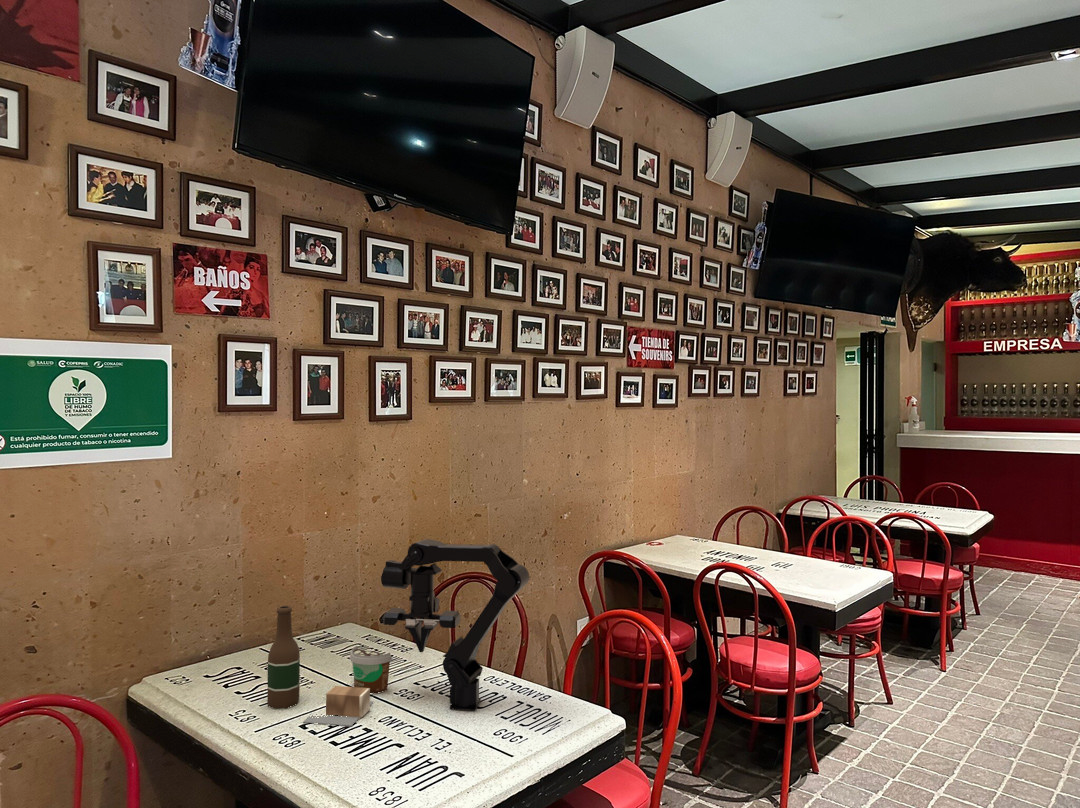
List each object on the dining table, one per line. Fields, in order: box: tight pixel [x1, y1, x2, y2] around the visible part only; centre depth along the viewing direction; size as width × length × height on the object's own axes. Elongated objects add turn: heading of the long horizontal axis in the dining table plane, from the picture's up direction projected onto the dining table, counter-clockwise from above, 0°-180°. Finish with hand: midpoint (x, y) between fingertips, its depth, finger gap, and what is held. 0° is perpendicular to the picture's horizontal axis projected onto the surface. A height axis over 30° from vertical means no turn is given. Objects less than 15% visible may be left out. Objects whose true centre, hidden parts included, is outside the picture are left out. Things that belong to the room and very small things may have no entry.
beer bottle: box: [266, 605, 301, 709], centre depth 182 cm, size 8×8×24 cm
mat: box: [302, 700, 375, 728], centre depth 177 cm, size 12×14×1 cm
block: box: [325, 685, 371, 718], centre depth 177 cm, size 5×5×9 cm
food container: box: [349, 645, 393, 694], centre depth 191 cm, size 12×6×10 cm, turn 62°
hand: (421, 651), depth 185 cm, fingers closed
